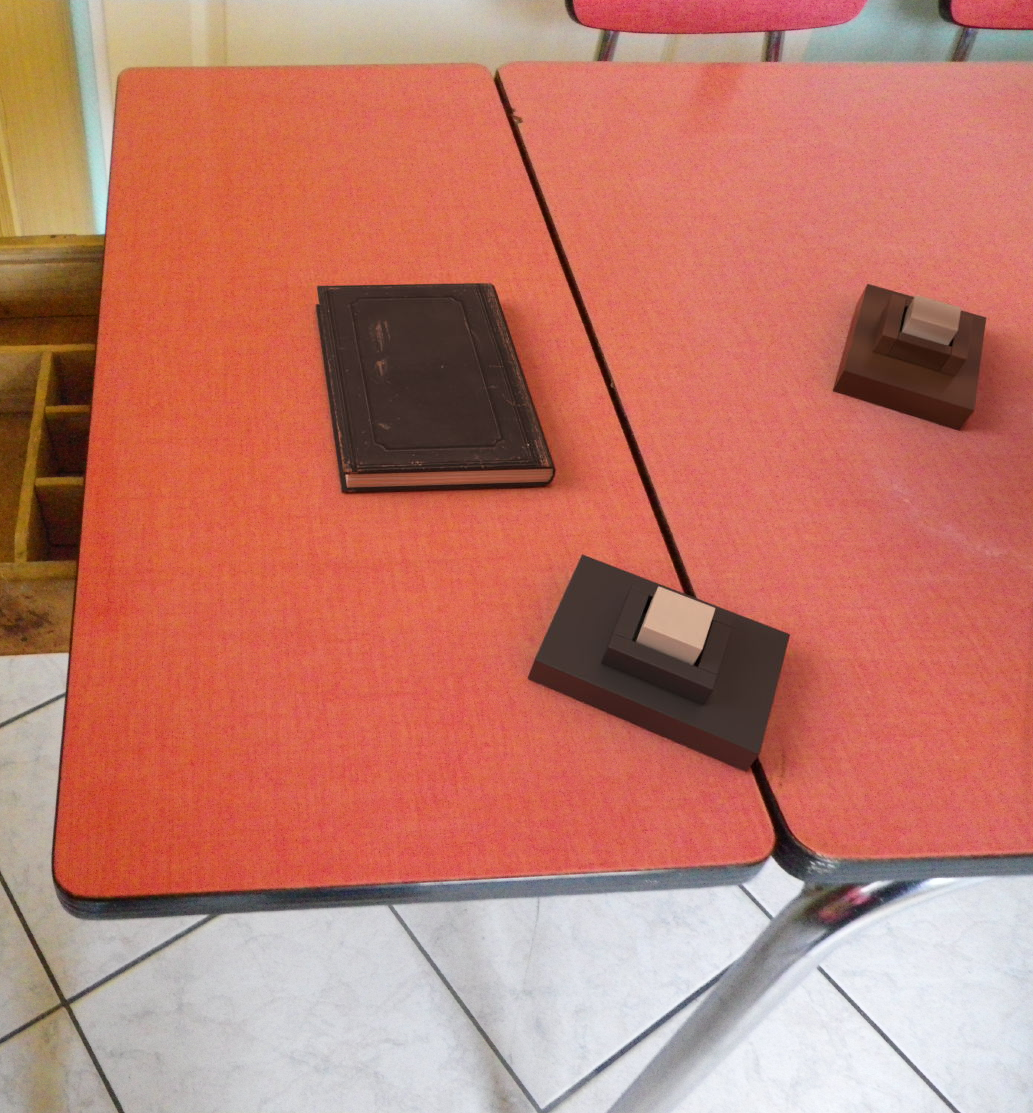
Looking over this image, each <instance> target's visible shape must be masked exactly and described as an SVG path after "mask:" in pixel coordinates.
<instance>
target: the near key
mask: <svg viewBox="0 0 1033 1113" xmlns="http://www.w3.org/2000/svg"><path fill="white" fill-rule="evenodd" d="M714 612H715V608H714V607H711V606H709V605H706V604H703V603H701V602H698V601H696V600H693V599H690V598H688V597H685V596H683V595H680V594H678V593H675V592H672V591H670V590H667V589H665V588H662V587H658V589H657V591H656V593H655V595H654V597H653V599H652V601H651V603H650V606H649V608H648V611H647V614H646V616H645V619H644V621H643V624H642V627H641V629H640V632H639V635H638V637H637V640H636V643H639V644H641V645H644V646H646V647H649V648H651V649H654V650H656V651H659V652H661V653H664V654H666V655H668V656H671V657H673V658H676V659H678V660H681V661H683V662H686V663H688V664H691V665H694V663H695V661H696V660H697V658H698V656H699V654H700V653H701V651H702V649H703V646H704V643H705V640H706V637H707V634H708V630H709V627H710V624H711V621H712V618H713V615H714Z"/></svg>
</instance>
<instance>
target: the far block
mask: <svg viewBox="0 0 1033 1113" xmlns="http://www.w3.org/2000/svg"><path fill="white" fill-rule="evenodd" d="M863 289H864V290H863V291H862V293H861V294H860V296H859V298H858V300H857V302H856V304H855V308H854V312H853V315H852V318H851V322H850V326H849V330H848V334H847V337H846V342H845V345H844V348H843V352H842V355H841V359H840V363H839V366H838V370H837V373H836V377H835V381H834V384H833V387H832V391H833V392H836V393H838V394H843V395H846V396H848V397H852V398H855V399H859V400H861V401H864V402H868V403H871V404H874V405H877V406H881V407H884V408H887V409H891V410H893V411H896V412H900V413H903V414H906V415H909V416H912V417H916V418H919V419H922V420H925V421H927V422H928V421H929V422H931V423H934V424H938V425H941V426H944V427H947V428H951V429H954V430H957V431H961V430H962V429H963V427H964V426H965V424H966V423H967V422H968V420H969V418H970V417H971V416H972V415H973V413H974V412H975V408H976V401H977V394H978V385H979V378H980V370H981V364H982V363H981V361H982V355H983V348H984V346H983V345H984V341H985V340H984V339H985V333H986V332H985V331H986V324H987V317H986V316H983V315H979V314H977V313H972V312H968V311H966V310H962V309H961V313H960V320H959V326H958V331H957V333H956V334H955V336H954V337H953V339H952V340H951V342H950V344H949V345H948V346H947V345H944V344H940V343H937V342H933V341H930V340H927V339H923V338H920V337H916V336H913V335H910V334H906V333H903V332H902V327H903V323H904V318H905V314H906V311H907V309H908V307H909V305H910V304H911V302H912V300H913V299H914V297H915V296H912V295H909V294H905V293H901V292H898V291H895V290H892V289H888V288H884V287H882V286H881V287H880V286H877V285H873V284H870V283H867V284H866V285H865V288H863Z"/></svg>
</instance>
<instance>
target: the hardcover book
mask: <svg viewBox="0 0 1033 1113" xmlns="http://www.w3.org/2000/svg"><path fill="white" fill-rule="evenodd" d="M316 290H317V298H318V299H317V300H318V303H316V304H315V309H316V317H317V324H318V332H319V338H320V346H321V352H322V360H323V361H322V362H323V366H324V373H325V381H326V388H327V396H328V403H329V409H330V417H331V423H332V430H333V438H334V447H335V453H336V459H337V467H338V475H339V481H340V488H341V493H345V494H346V493H378V492H410V491H442V490H443V491H444V490H476V489H477V490H478V489H481V490H482V489H509V488H510V489H511V488H543V487H546V486H548V485H550V484H551V483H552V482H553V481H554V478H555V476H556V472H557V469H556V466H555V462H554V459H553V456H552V454H551V450H550V448H549V444H548V441H547V439H546V436H545V432H544V430H543V427H542V424H541V420H540V418H539V414H538V412H537V409H536V405H535V403H534V400H533V397H532V394H531V391H530V387H529V384H528V382H527V378H526V376H525V372H524V370H523V367H522V363H521V361H520V358H519V355H518V352H517V349H516V346H515V342H514V340H513V336H512V334H511V330H510V328H509V325H508V322H507V319H506V316H505V313H504V310H503V308H502V305H501V304H502V303H501V301H500V299H499V295H498V292H497V289H496V287H495V285H494V284H493V283H491V282H476V283H475V282H470V283H469V282H467V283H461V282H460V283H413V284H412V283H409V284H407V283H406V284H404V283H403V284H400V283H399V284H355V285H354V284H353V285H352V284H351V285H349V284H347V285H345V284H343V285H342V284H341V285H317V286H316Z"/></svg>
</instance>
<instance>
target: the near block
mask: <svg viewBox="0 0 1033 1113" xmlns="http://www.w3.org/2000/svg"><path fill="white" fill-rule="evenodd" d="M658 587H662V588H665V589H667V590H670V591H672V592H675V593H678V594H680V595H683V596H685V597H688V598H690V599H693V600H696V601H698V602H701V603H703V604H706V605H709V606H711V607H714V608H715V612H714V615H713V618H712V621H711V624H710V627H709V630H708V634H707V637H706V640H705V643H704V646H703V649H702V651H701V653H700V654H699V656H698V658H697V660H696V661H695V663H694V665H691V664H688V663H686V662H683V661H681V660H678V659H676V658H673V657H671V656H668V655H666V654H664V653H661V652H659V651H656V650H654V649H651V648H649V647H646V646H644V645H641V644H639V643H636V640H637V637H638V635H639V632H640V629H641V627H642V624H643V621H644V619H645V616H646V614H647V611H648V608H649V606H650V603H651V601H652V599H653V597H654V595H655V593H656V591H657V589H658ZM790 637H791V634H790V633H788V632H785V631H783V630H781V629H778V628H776V627H773V626H770V625H767V624H764V623H762V622H759V621H757V620H754V619H752V618H749V617H746V616H744V615H741V614H739V613H736V612H733V611H731V610H729V609H725V608H723V607H722V606H721V607H720V606H718V605H715V604H713V603H710V602H707V601H705V600H703V599H700V598H697V597H696V596H695V597H694V596H692V595H689V594H687V593H684V592H682V591H678V590H677V589H673V588H671V587H669V586H666V585H663V584H661V583H658V582H656V581H652V580H650V579H648V578H646V577H643V576H640V575H638V574H635V573H632V572H630V571H627V570H624V569H622V568H619V567H616V566H614V565H612V564H609V563H606V562H603V561H601V560H598V559H595V558H593V557H590V556H588V555H585V554H581V556H580V558H579V560H578V562H577V565H576V566H575V569H574V571H573V573H572V575H571V577H570V579H569V582H568V584H567V587H566V589H565V591H564V593H563V596H562V598H561V599H560V602H559V604H558V606H557V609H556V611H555V612H554V616H553V618H552V620H551V622H550V624H549V626H548V629H547V631H546V633H545V636H544V638H543V640H542V641H541V644H540V647H539V649H538V651H537V653H536V655H535V658H534V660H533V662H532V665H531V667H530V668H531V669H530V670H529V674H528V676H527V679H528V680H530V681H532V682H535V683H537V684H539V685H543V686H544V687H547V688H549V689H551V690H553V691H556V692H558V693H561V694H563V695H565V696H568V697H570V698H573V699H575V700H577V701H579V702H582V703H584V704H587V705H588V706H591V707H594V708H596V709H598V710H600V711H603V712H605V713H607V714H610V715H612V716H615V717H617V718H619V719H621V720H624V721H626V722H628V723H631V724H633V725H636V726H638V727H640V728H642V729H646V730H648V731H650V732H652V733H654V734H656V735H659V736H662V737H664V738H666V739H668V740H670V741H673V742H675V743H677V744H679V745H682V746H685V747H687V748H690V749H692V750H694V751H696V752H699V753H701V754H703V755H706V756H708V757H711V758H713V759H715V760H717V761H719V762H722V763H725V764H727V765H729V766H731V767H733V768H736V769H738V770H740V771H743V772H748V770H749V769H750V768H751V766H752V765H753V764H754V763H755V761H756V759H757V758H758V757H759V756H760V754H761V751H762V747H763V742H764V739H765V735H766V731H767V727H768V723H769V719H770V717H771V716H770V715H771V711H772V707H773V704H774V699H775V695H776V692H777V688H778V684H779V681H780V677H781V673H782V668H783V664H784V659H785V657H786V653H787V649H788V644H789V641H790Z"/></svg>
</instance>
